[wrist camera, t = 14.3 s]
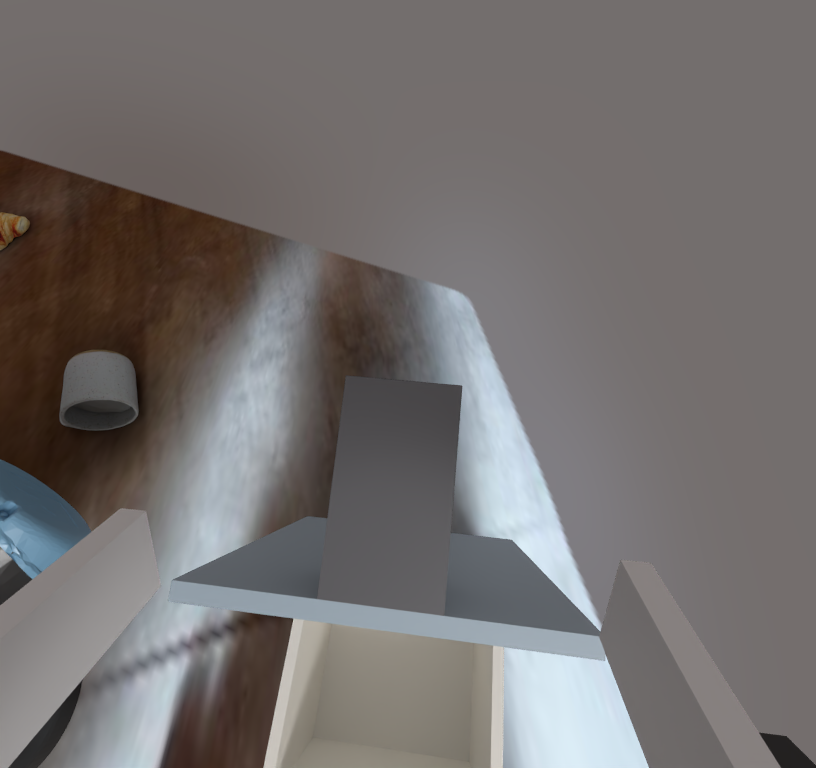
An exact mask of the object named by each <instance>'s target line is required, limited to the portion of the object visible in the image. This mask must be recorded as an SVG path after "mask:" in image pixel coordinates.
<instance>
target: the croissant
mask: <svg viewBox="0 0 816 768" xmlns="http://www.w3.org/2000/svg"><path fill="white" fill-rule="evenodd" d="M29 226H30V221H29V220H28V219H27V218H26V217H22V216H21V217H19V216H17V215H13V214H8V213H3V212H1V213H0V250H2V249H4V248H5V247H6V246H8V244H9V243H10V242H12V241H13V238H15V237H19V236H21V235H22V234H23V233H24V232H26V231H27V229H28V228H29Z"/></svg>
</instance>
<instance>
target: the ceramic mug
mask: <svg viewBox="0 0 816 768" xmlns="http://www.w3.org/2000/svg"><path fill="white" fill-rule="evenodd" d="M138 412H139V409H138V400H137V387H136V374H135V369H134V367H133V364H132V362H131V361H130V360H129V359H128V358H127V357H125V356H124V355H122V354H120V353H117V352H113V351H109V350H89V351H85V352H81V353H79V354H77V355H75V356H73V357H72V358H71V359H70V360H69V362H68V364H67V366H66V369H65V372H64V381H63V391H62V398H61V406H60V414H59V418H60V422H61V424H62V425H64V426H67V427H72V428H78V429H82V430H95V431H98V430H110V429H115V428H119V427H122V426H125V425H128V424H130V423H131V422H133V421H134V420H135V419H136V418H137V416H138Z"/></svg>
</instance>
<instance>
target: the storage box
mask: <svg viewBox="0 0 816 768" xmlns="http://www.w3.org/2000/svg"><path fill="white" fill-rule="evenodd" d="M503 696H504V647H500V646H492V645H485V644H477V643H470V642H463V641H455V640H448V639H441V638H433V637H426V636H419V635H411V634H404V633H397V632H389V631H382V630H375V629H367V628H360V627H353V626H345V625H338V624H331V623H323V622H316V621H309V620H301V619H293V624H292V629H291V634H290V639H289V644H288V649H287V654H286V659H285V664H284V669H283V674H282V679H281V684H280V689H279V694H278V699H277V703H276V708H275V713H274V718H273V723H272V728H271V733H270V738H269V743H268V748H267V753H266V758H265V763H264V768H503Z"/></svg>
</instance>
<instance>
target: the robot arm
mask: <svg viewBox="0 0 816 768" xmlns="http://www.w3.org/2000/svg"><path fill="white" fill-rule="evenodd" d="M160 587H161V582H160V577H159V572H158V567H157V563H156V558H155V553H154V548H153V543H152V538H151V533H150V528H149V523H148V518H147V513H146V511H142V510H132V509H122V508H121V509H119V510H118V511H117V512H116V513H114V514H113V515H112V516H111V517H109V518H108V519H107V520H106V521H104V522H103V523H102V524H101V525H100V526H98V527H97V528H96V529H95V530H93V531H92V532H91V530H90V528H89V526H88V525H87V523H86V522H85V520H84V519H83V518H82V517H81V515H80V514H79V513H78V512H77V511H76V510H75V509H74V508H73V507H72V506H71V505H70V504H69V503H68V502H66V501H65V500H64V499H63V498H62V497H61V496H59V495H58V494H57V493H56V492H54V491H53V490H52V489H50V488H49V487H48V486H46V485H45V484H43V483H42V482H41V481H39V480H37V479H36V478H34V477H33V476H31V475H30V474H28V473H26V472H25V471H23V470H21V469H19V468H17V467H15V466H13V465H11V464H9V463H7V462H5V461H3V460H1V459H0V768H37V767H38V766H39V765H40V764H41V763H42V762H43V761H44V760H45V758H46V757H47V756H48V755H49V754H50V752H51V751H52V750H53V748H54V747H55V745H56V744H57V742H58V741H59V739H60V738H61V736H62V734H63V733H64V731H65V729H66V727H67V725H68V723H69V721H70V719H71V716H72V714H73V711H74V709H75V706H76V703H77V699H78V695H79V691H80V686H81V681H82V679H83V678H84V677H85V676H86V675H87V673H88V672H89V671H90V670H91V669H92V667H93V666H94V665H95V664H96V663H97V662H98V660H99V659H100V658H101V657H102V656H103V654H104V653H105V652H106V651H107V650H108V648H109V647H110V646H111V645H112V644H113V643H114V641H115V640H116V639H117V638H118V637H119V635H120V634H121V633H122V632H123V631H124V629H125V628H126V627H127V626H128V625H129V624H130V622H131V621H132V620H133V619H134V618H135V616H136V615H137V614H138V613H139V612H140V610H141V609H142V608H143V607H144V606H145V604H146V603H147V602H148V601H149V600H150V599H151V597H152V596H153V595H154V594H155V593H156V591H157V590H158V589H159V588H160ZM599 638H600V641H601V643H602V646H603V649H604V651H605V654H606V656H607V659H608V662H609V664H610V667H611V669H612V672H613V675H614V677H615V680H616V683H617V685H618V688H619V690H620V693H621V696H622V698H623V701H624V703H625V706H626V709H627V711H628V714H629V716H630V719H631V722H632V724H633V727H634V729H635V732H636V735H637V737H638V740H639V742H640V745H641V748H642V750H643V753H644V755H645V758H646V761H647V763H648V766H649V768H816V765H815V764H814V763H813V762H812V761H811V760H810V759H809V758H808V757H807V756H806V755H805V754H804V753H803V752H802V751H801V750H800V749H799V748H798V747H797V746H796V745H795V744H794V743H792V741H791V740H790V739H789V738H787V736H781V735H773V734H765V733H759V732H758V731H757V729H756V728H755V726H754V724H753V723H752V721H751V720H750V718H749V717H748V715H747V713H746V712H745V710H744V709H743V707H742V706H741V704H740V702H739V701H738V699H737V698H736V696H735V695H734V693H733V691H732V690H731V688H730V687H729V685H728V684H727V682H726V680H725V679H724V677H723V676H722V674H721V673H720V671H719V669H718V668H717V666H716V665H715V663H714V662H713V660H712V658H711V657H710V655H709V654H708V652H707V651H706V649H705V647H704V646H703V644H702V643H701V641H700V639H699V638H698V636H697V635H696V633H695V632H694V630H693V628H692V627H691V626H690V624H689V622H688V621H687V619H686V617H685V616H684V614H683V613H682V611H681V610H680V608H679V606H678V605H677V603H676V602H675V600H674V599H673V597H672V595H671V594H670V592H669V591H668V589H667V588H666V586H665V584H664V583H663V581H662V580H661V578H660V577H659V575H658V573H657V572H656V570H655V569H654V567H653V566H652V564H651V563H647V562H637V561H627V560H620V563H619V567H618V570H617V575H616V578H615V582H614V585H613V589H612V592H611V596H610V599H609V603H608V607H607V610H606V614H605V618H604V621H603V625H602V628H601V632H600V636H599Z"/></svg>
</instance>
